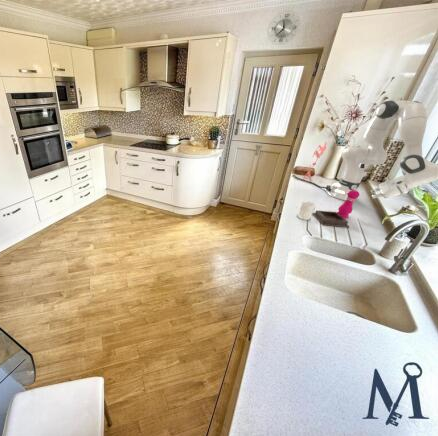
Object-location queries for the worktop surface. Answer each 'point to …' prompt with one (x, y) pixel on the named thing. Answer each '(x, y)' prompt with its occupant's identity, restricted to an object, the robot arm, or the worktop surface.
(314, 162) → the figurine
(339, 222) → the dock pad
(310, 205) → the white cup
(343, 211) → the pepper mill
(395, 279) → the worktop surface
